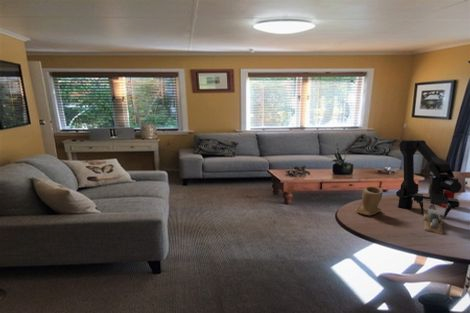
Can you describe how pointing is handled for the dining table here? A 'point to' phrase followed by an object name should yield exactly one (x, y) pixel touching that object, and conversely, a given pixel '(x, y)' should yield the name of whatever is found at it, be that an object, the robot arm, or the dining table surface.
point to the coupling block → (433, 214)
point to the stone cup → (370, 201)
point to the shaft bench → (427, 226)
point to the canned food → (450, 195)
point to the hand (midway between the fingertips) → (433, 215)
